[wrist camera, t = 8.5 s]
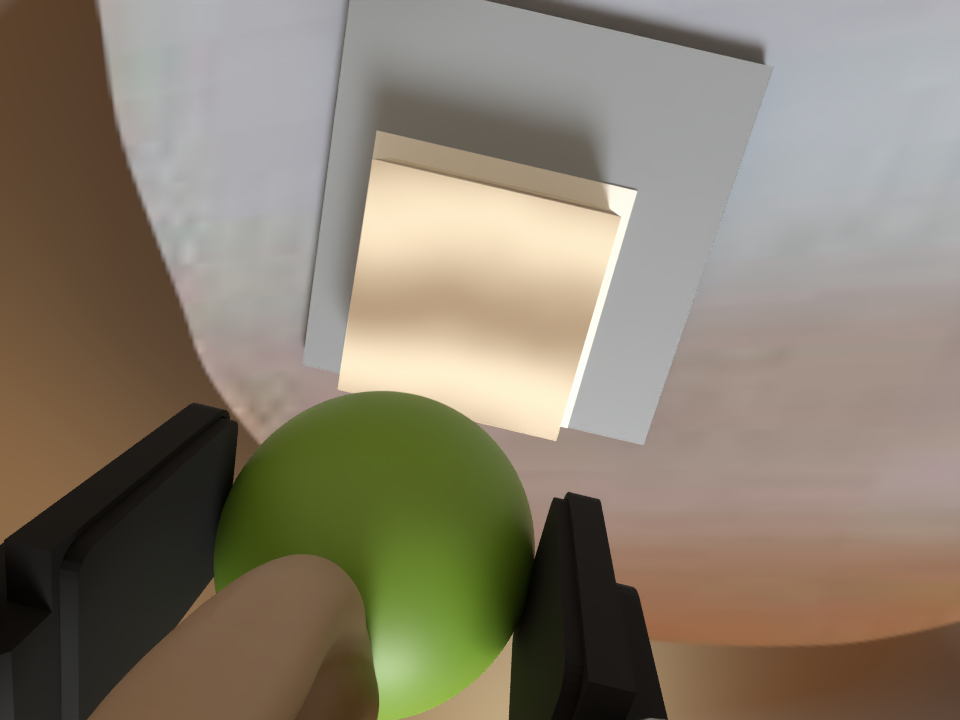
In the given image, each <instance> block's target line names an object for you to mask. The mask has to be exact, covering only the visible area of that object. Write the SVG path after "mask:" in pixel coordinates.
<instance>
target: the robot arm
mask: <svg viewBox="0 0 960 720" xmlns="http://www.w3.org/2000/svg"><path fill="white" fill-rule="evenodd" d="M237 435H238V424H237V422H236V421H233V420H230V416H229V413H228V411H227V410H223V409H219V408H215V407H210V406H206V405H202V404H198V403H192V404H190V405H188V406H187V407H186V408H184V409H183V410H182V411H180V412H179V413H178V414H176V415H175V416H173V417H172V418H171V419H169V420H168V421H167V422H165V423H164V424H163V425H161V426H160V427H159V428H157V429H156V430H154V431H153V432H151V433H150V434H149V435H147V436H146V437H145V438H143V439H142V440H141V441H139V442H138V443H136V444H135V445H134V446H132V447H131V448H130V449H128V450H127V451H125V452H124V453H123V454H122V455H120V456H119V457H117V458H116V459H115V460H113V461H112V462H110V463H109V464H108V465H106V466H105V467H104V468H102V469H101V470H100V471H98V472H97V473H95V474H94V475H93V476H91V477H90V478H89V479H87V480H86V481H84V482H83V483H82V484H80V485H79V486H78V487H76V488H75V489H73V490H72V491H71V492H69V493H68V494H67V495H65V496H64V497H63V498H61V499H60V500H58V501H57V502H56V503H54V504H53V505H52V506H50V507H49V508H47V509H46V510H45V511H43V512H42V513H41V514H39V515H38V516H37V517H35V518H34V519H33V520H31V521H30V522H28V523H27V524H26V525H24V526H23V527H22V528H20V529H19V530H17V531H16V532H15V533H13V534H12V535H10V536H9V537H8V538H6V539H5V540H4V543H2V544H1V545H0V720H87V719H88V718H89V717H90V715H91V714H92V713H93V712H94V710H95V709H96V708H97V707H98V706H99V704H100V703H101V702H102V701H103V700H104V698H105V697H106V696H107V695H108V694H109V693H110V692H111V690H112V689H113V688H114V687H115V686H116V685H117V684H118V683H119V682H120V681H121V680H122V678H123V677H124V676H125V675H126V674H127V673H128V672H129V671H130V670H131V669H132V668H133V667H134V666H135V665H136V664H137V663H138V662H139V661H140V660H141V659H142V658H143V657H144V656H145V655H146V654H147V653H148V652H149V651H150V650H151V649H152V648H154V647H155V646H156V645H157V644H158V643H159V642H160V641H161V640H162V639H163V638H164V637H165V636H167V635H168V634H169V633H170V632H171V631H172V630H173V629H174V628H175V627H176V626H177V625H178V623H179V622H180V621H181V619H182V618H183V617H184V615H185V614H186V613H187V611H188V610H189V609H190V607H191V606H192V605H193V603H194V602H195V601H196V599H197V598H198V597H199V596H200V594H201V593H202V592H203V590H204V589H205V588H206V586H207V585H208V584H209V582H210V581H211V580H212V578H213V577H214V547H215V539H216V533H217V528H218V524H219V520H220V516H221V513H222V510H223V507H224V504H225V502H226V499H227V497H228V494H229V492H230V490H231V488H232V486H233V476H234V467H235V457H236V446H237ZM509 720H668V718H667V714H666V710H665V705H664V701H663V697H662V692H661V688H660V684H659V680H658V675H657V671H656V667H655V663H654V658H653V654H652V650H651V645H650V641H649V637H648V633H647V628H646V624H645V620H644V616H643V611H642V607H641V603H640V598H639V595H638V592H637V590H636V589H635V588H634V587H631V586H627V585H623V584H618V583H616V580H615V575H614V570H613V564H612V559H611V554H610V548H609V543H608V538H607V532H606V527H605V522H604V516H603V511H602V506H601V502H600V500H599V499H596V498H591V497H587V496H583V495H579V494H575V493H571V492H568V493H567V494H566V495H565V497H564V499H560V498H555V497H554V498H553V500H552V503H551V506H550V509H549V513H548V516H547V519H546V523H545V526H544V529H543V532H542V536H541V539H540V542H539V546H538V549H537V552H536V556H535V559H534V566H533V573H532V578H531V584H530V589H529V593H528V597H527V601H526V604H525V607H524V610H523V613H522V615H521V617H520V620H519V622H518V624H517V626H516V628H515V630H514V633H513V642H512V663H511V684H510V705H509Z"/></svg>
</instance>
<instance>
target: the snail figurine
mask: <svg viewBox="0 0 960 720" xmlns="http://www.w3.org/2000/svg"><path fill="white" fill-rule="evenodd" d="M534 556H535V541H534V529H533V521H532V516H531V511H530V507H529V503H528V500H527V497H526V494H525V491H524V488H523V486H522V484H521V481H520V479H519V477H518V475H517V473H516V471H515V469H514V467H513V466H512V464H511V462H510V461H509V459H508V458H507V456H506V455H505V453H504V452H503V451H502V449H501V448H500V447H499V446H498V444H497V443H496V442H495V441H494V440H493V439H492V438H491V437H490V436H489V435H488V434H487V433H486V432H485V431H484V430H483V429H482V428H481V427H480V426H478V425H477V424H476V423H475V422H473V421H472V420H471V419H469V418H468V417H466V416H465V415H463V414H462V413H460V412H458V411H457V410H455V409H453V408H451V407H449V406H447V405H445V404H443V403H440V402H438V401H435V400H433V399H430V398H427V397H423V396H419V395H415V394H410V393H404V392H396V391H368V392H360V393H354V394H349V395H344V396H340V397H337V398H334V399H331V400H328V401H325V402H323V403H320V404H318V405H315V406H313V407H311V408H309V409H307V410H305V411H304V412H302V413H300V414H298V415H297V416H295V417H294V418H292V419H291V420H289V421H288V422H286V423H285V424H284V425H282V426H281V427H280V428H279V429H277V430H276V431H275V432H274V433H273V434H272V435H270V436H269V437H268V438H267V439H266V440H265V441H264V442H263V443H262V444H261V445H260V447H259V448H258V449H257V450H256V451H255V452H254V454H253V455H252V456H251V457H250V459H249V460H248V461H247V463H246V464H245V466H244V467H243V469H242V470H241V472H240V473H239V475H238V477H237V478H236V480H235V482H234V484H233V486H232V488H231V490H230V492H229V494H228V497H227V499H226V502H225V504H224V507H223V510H222V513H221V516H220V520H219V524H218V528H217V533H216V539H215V547H214V582H215V590H216V594H215V595H214V596H212V597H211V598H210V599H209V600H207V601H206V602H205V603H203V604H202V605H201V606H199V607H198V608H197V609H196V610H195V611H194V612H193V613H192V614H190V615H189V616H188V617H187V618H186V619H184V620H183V621H182V622H181V623H180V624H179V625H178V626H177V627H175V628H174V629H173V630H172V631H171V632H170V633H169V634H168V635H167V636H165V637H164V638H163V639H162V640H161V641H160V642H159V643H158V644H157V645H156V646H155V647H154V648H152V649H151V650H150V651H149V652H148V653H147V654H146V655H145V656H144V657H143V658H142V659H141V660H140V661H139V662H138V663H137V664H136V665H135V666H134V667H133V668H132V669H131V670H130V671H129V672H128V673H127V674H126V675H125V676H124V677H123V678H122V680H121V681H120V682H119V683H118V684H117V685H116V686H115V687H114V688H113V689H112V690H111V692H110V693H109V694H108V695H107V696H106V697H105V698H104V700H103V701H102V702H101V703H100V704H99V706H98V707H97V708H96V709H95V710H94V712H93V713H92V714H91V715H90V717H89V718H88V719H87V720H397V719H402V718H406V717H409V716H413V715H416V714H419V713H422V712H424V711H427V710H429V709H431V708H434V707H436V706H438V705H440V704H442V703H443V702H445V701H447V700H449V699H451V698H452V697H454V696H455V695H457V694H458V693H460V692H461V691H463V690H464V689H465V688H466V687H468V686H469V685H470V684H471V683H473V682H474V681H475V680H476V679H477V678H478V677H479V676H480V675H481V674H482V673H483V672H484V671H485V670H486V669H487V668H488V667H489V666H490V665H491V664H492V663H493V661H494V660H495V659H496V658H497V656H498V655H499V654H500V652H501V651H502V650H503V648H504V647H505V645H506V644H507V642H508V641H509V639H510V637H511V635H512V634H513V632H514V630H515V628H516V626H517V624H518V622H519V620H520V617H521V615H522V613H523V610H524V607H525V604H526V601H527V597H528V593H529V589H530V584H531V578H532V573H533V566H534Z"/></svg>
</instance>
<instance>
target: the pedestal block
mask: <svg viewBox="0 0 960 720" xmlns="http://www.w3.org/2000/svg"><path fill="white" fill-rule="evenodd" d="M620 220H621V216H619V215H618V214H617V213H615V212H614V211H612V210H611V209H610V208H606V207H601V206H597V205H593V204H589V203H584V202H580V201H576V200H571V199H567V198H563V197H559V196H554V195H550V194H546V193H541V192H537V191H533V190H528V189H524V188H520V187H516V186H511V185H507V184H503V183H498V182H494V181H490V180H486V179H481V178H477V177H473V176H468V175H464V174H460V173H456V172H451V171H447V170H443V169H438V168H434V167H430V166H426V165H421V164H417V163H413V162H408V161H404V160H400V159H396V158H387V159H373V161H372V167H371V174H370V180H369V187H368V194H367V200H366V207H365V213H364V220H363V226H362V233H361V239H360V246H359V253H358V259H357V266H356V272H355V279H354V285H353V292H352V299H351V305H350V312H349V318H348V325H347V331H346V338H345V344H344V351H343V358H342V364H341V371H340V377H339V384H338V390H342V391H346V392H351V393H360V392H368V391H396V392H404V393H410V394H415V395H419V396H423V397H427V398H430V399H433V400H435V401H438V402H440V403H443V404H445V405H447V406H449V407H451V408H453V409H455V410H457V411H458V412H460V413H462V414H463V415H465V416H466V417H468V418H469V419H471V420H472V421H473V422H478V423H482V424H486V425H490V426H494V427H499V428H503V429H507V430H511V431H516V432H520V433H524V434H528V435H533V436H537V437H541V438H545V439H550V440H554V441H556V440H557V436H558V433H559V429H560V426H561V423H562V419H563V416H564V412H565V409H566V405H567V402H568V399H569V395H570V392H571V388H572V385H573V381H574V378H575V374H576V371H577V368H578V364H579V361H580V357H581V354H582V350H583V347H584V344H585V340H586V337H587V333H588V330H589V326H590V323H591V319H592V316H593V313H594V309H595V306H596V302H597V299H598V295H599V292H600V288H601V285H602V282H603V278H604V275H605V271H606V268H607V264H608V261H609V258H610V254H611V251H612V247H613V244H614V240H615V237H616V233H617V230H618V227H619V223H620Z"/></svg>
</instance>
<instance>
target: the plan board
mask: <svg viewBox="0 0 960 720" xmlns="http://www.w3.org/2000/svg"><path fill="white" fill-rule="evenodd" d="M773 68H774V67H771V66H767V65H763V64H758V63H754V62H750V61H745V60H741V59H737V58H733V57H728V56H724V55H720V54H715V53H711V52H707V51H702V50H698V49H694V48H689V47H685V46H681V45H676V44H672V43H668V42H663V41H659V40H655V39H650V38H646V37H642V36H637V35H633V34H629V33H624V32H620V31H616V30H611V29H607V28H603V27H598V26H594V25H590V24H585V23H581V22H577V21H572V20H568V19H564V18H559V17H555V16H551V15H546V14H542V13H538V12H533V11H529V10H525V9H520V8H516V7H512V6H507V5H503V4H499V3H494V2H490V1H486V0H350V1H349V9H348V17H347V24H346V32H345V40H344V47H343V55H342V63H341V71H340V78H339V86H338V94H337V102H336V109H335V117H334V125H333V132H332V140H331V148H330V156H329V163H328V171H327V179H326V186H325V194H324V202H323V210H322V217H321V225H320V233H319V240H318V248H317V256H316V264H315V271H314V279H313V287H312V294H311V302H310V310H309V318H308V325H307V333H306V341H305V348H304V356H303V364H302V365H306V366H310V367H314V368H318V369H323V370H327V371H331V372H335V373H340V371H341V364H342V358H343V351H344V344H345V338H346V331H347V325H348V318H349V312H350V305H351V299H352V292H353V285H354V279H355V272H356V266H357V259H358V253H359V246H360V239H361V233H362V226H363V220H364V213H365V207H366V200H367V194H368V187H369V180H370V174H371V167H372V161H373V159H387V158H396V159H400V160H404V161H408V162H413V163H417V164H421V165H426V166H430V167H434V168H438V169H443V170H447V171H451V172H456V173H460V174H464V175H468V176H473V177H477V178H481V179H486V180H490V181H494V182H498V183H503V184H507V185H511V186H516V187H520V188H524V189H528V190H533V191H537V192H541V193H546V194H550V195H554V196H559V197H563V198H567V199H571V200H576V201H580V202H584V203H589V204H593V205H597V206H601V207H606V208H610V209H611V210H612V211H614V212H615V213H617V214H618V215H619V216H621V220H620V223H619V227H618V230H617V233H616V237H615V240H614V244H613V247H612V251H611V254H610V258H609V261H608V264H607V268H606V271H605V275H604V278H603V282H602V285H601V288H600V292H599V295H598V299H597V302H596V306H595V309H594V313H593V316H592V319H591V323H590V326H589V330H588V333H587V337H586V340H585V344H584V347H583V350H582V354H581V357H580V361H579V364H578V368H577V371H576V374H575V378H574V381H573V385H572V388H571V392H570V395H569V399H568V402H567V405H566V409H565V412H564V416H563V419H562V423H561V427H565V428H573V429H577V430H581V431H585V432H590V433H594V434H598V435H602V436H607V437H611V438H615V439H619V440H623V441H628V442H632V443H636V444H640V445H644V442H645V439H646V436H647V433H648V430H649V427H650V425H651V422H652V419H653V416H654V413H655V410H656V407H657V404H658V401H659V398H660V396H661V393H662V390H663V387H664V384H665V381H666V378H667V375H668V372H669V369H670V367H671V364H672V361H673V358H674V355H675V352H676V349H677V346H678V343H679V340H680V338H681V335H682V332H683V329H684V326H685V323H686V320H687V317H688V314H689V311H690V309H691V306H692V303H693V300H694V297H695V294H696V291H697V288H698V285H699V282H700V280H701V277H702V274H703V271H704V268H705V265H706V262H707V259H708V256H709V253H710V251H711V248H712V245H713V242H714V239H715V236H716V233H717V230H718V227H719V225H720V222H721V219H722V216H723V213H724V210H725V207H726V204H727V201H728V198H729V196H730V193H731V190H732V187H733V184H734V181H735V178H736V175H737V172H738V169H739V167H740V164H741V161H742V158H743V155H744V152H745V149H746V146H747V143H748V140H749V138H750V135H751V132H752V129H753V126H754V123H755V120H756V117H757V114H758V111H759V109H760V106H761V103H762V100H763V97H764V94H765V91H766V88H767V85H768V82H769V80H770V77H771V74H772V71H773Z"/></svg>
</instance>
